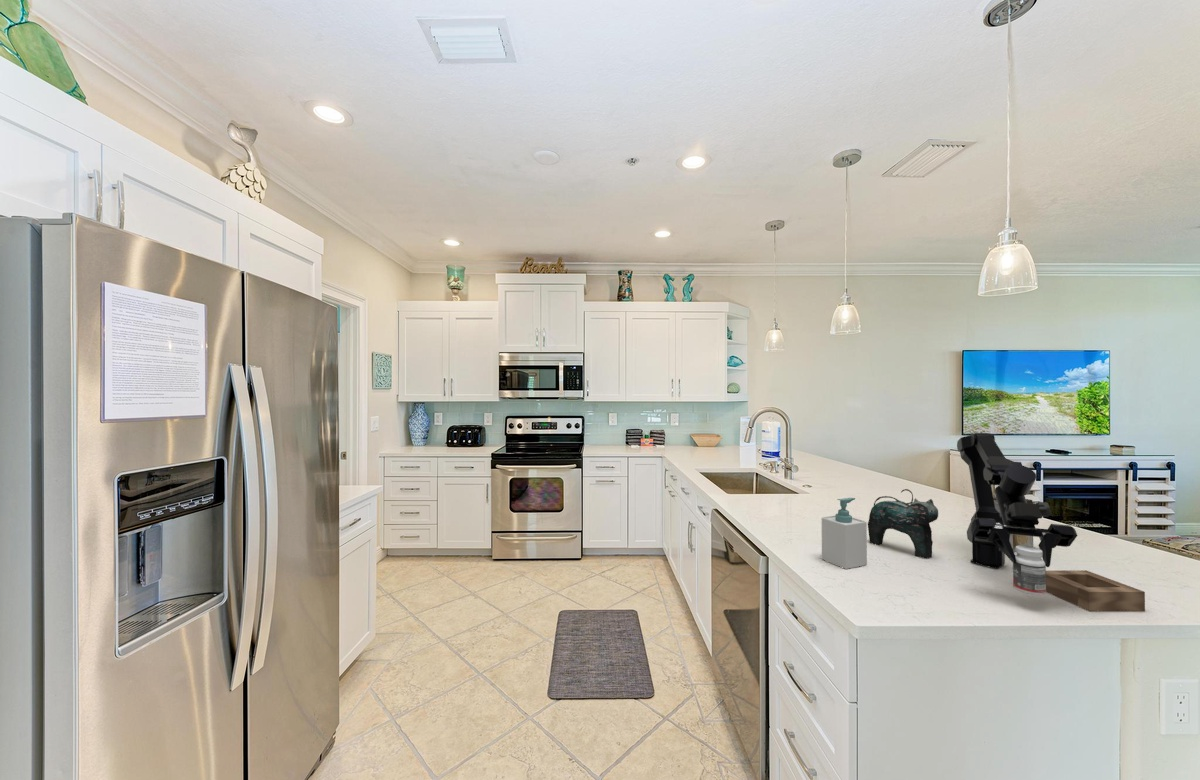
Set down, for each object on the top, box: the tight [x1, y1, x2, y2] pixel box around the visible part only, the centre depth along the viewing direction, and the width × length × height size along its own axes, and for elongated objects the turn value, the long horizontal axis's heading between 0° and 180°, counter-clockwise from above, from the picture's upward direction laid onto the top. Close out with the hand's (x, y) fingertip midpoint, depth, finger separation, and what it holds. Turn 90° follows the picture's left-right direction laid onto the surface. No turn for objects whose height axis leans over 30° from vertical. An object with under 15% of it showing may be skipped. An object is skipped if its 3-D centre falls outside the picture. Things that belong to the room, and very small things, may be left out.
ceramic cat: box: [867, 488, 939, 560], centre depth 148 cm, size 20×6×20 cm, turn 28°
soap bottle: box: [821, 497, 868, 570], centre depth 138 cm, size 9×9×19 cm
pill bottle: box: [1012, 545, 1047, 596], centre depth 109 cm, size 6×6×10 cm
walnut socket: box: [1046, 569, 1146, 612], centre depth 113 cm, size 13×13×4 cm
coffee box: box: [993, 497, 1034, 553], centre depth 149 cm, size 9×6×16 cm
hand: (1031, 564), depth 108 cm, fingers closed on pill bottle, 6 cm apart
